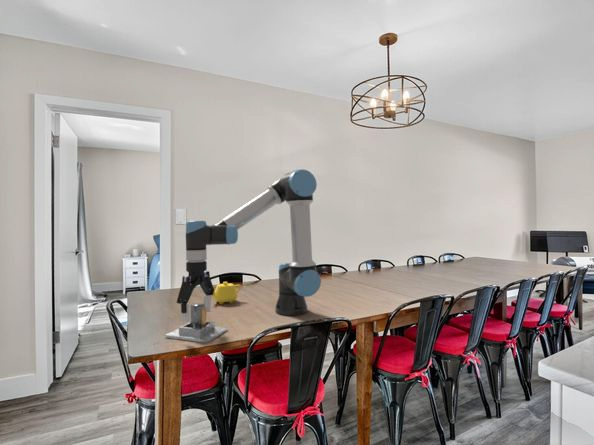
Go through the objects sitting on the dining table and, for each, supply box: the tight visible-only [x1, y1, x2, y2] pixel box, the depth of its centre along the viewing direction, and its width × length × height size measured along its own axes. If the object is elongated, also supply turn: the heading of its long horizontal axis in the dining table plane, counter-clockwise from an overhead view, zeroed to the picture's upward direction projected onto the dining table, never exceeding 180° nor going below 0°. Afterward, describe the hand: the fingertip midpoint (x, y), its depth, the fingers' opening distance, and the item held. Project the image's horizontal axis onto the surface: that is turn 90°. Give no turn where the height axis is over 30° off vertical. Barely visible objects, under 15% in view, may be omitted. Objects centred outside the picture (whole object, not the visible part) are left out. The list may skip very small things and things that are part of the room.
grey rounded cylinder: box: [189, 302, 207, 329], centre depth 126 cm, size 5×6×10 cm
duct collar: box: [164, 320, 228, 344], centre depth 126 cm, size 18×14×4 cm
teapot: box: [211, 281, 242, 305], centre depth 175 cm, size 18×11×11 cm, turn 110°
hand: (197, 316), depth 126 cm, fingers open, 13 cm apart
